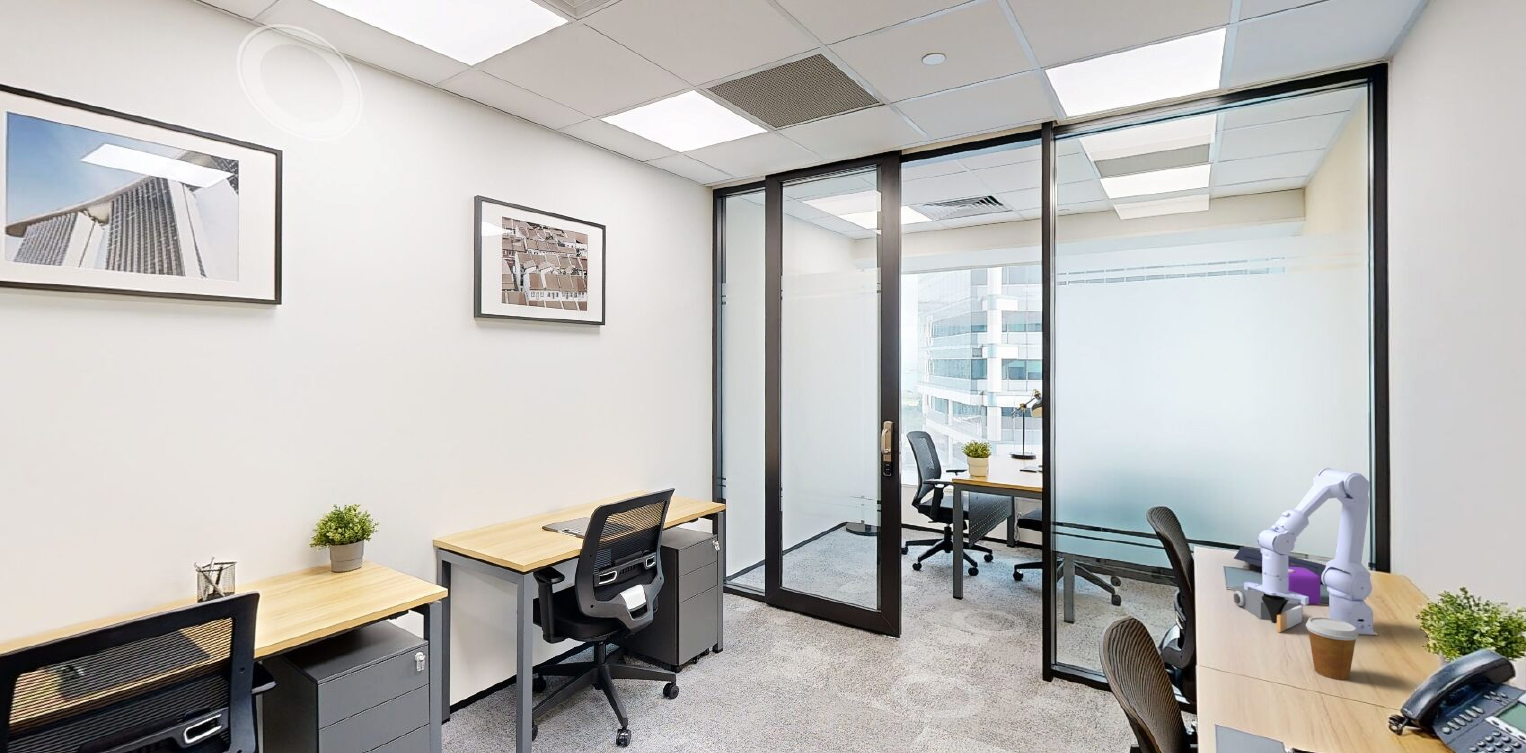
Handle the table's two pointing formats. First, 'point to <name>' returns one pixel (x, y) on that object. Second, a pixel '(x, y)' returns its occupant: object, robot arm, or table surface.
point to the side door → (1289, 618)
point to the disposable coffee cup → (1332, 646)
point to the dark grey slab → (1256, 558)
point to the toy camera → (1304, 583)
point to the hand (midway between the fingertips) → (1275, 622)
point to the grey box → (1257, 603)
